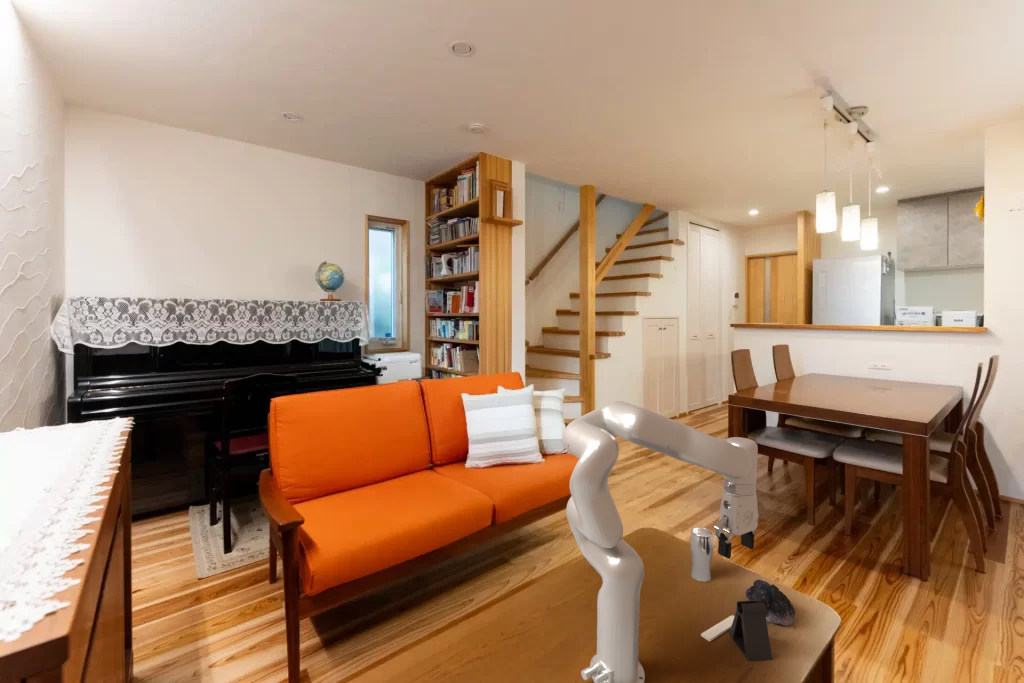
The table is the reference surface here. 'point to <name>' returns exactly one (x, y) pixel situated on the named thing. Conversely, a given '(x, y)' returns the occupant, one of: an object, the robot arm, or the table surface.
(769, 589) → the black rock
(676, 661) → the table surface
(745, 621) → the phone stand
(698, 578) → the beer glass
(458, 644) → the table surface
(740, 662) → the table surface
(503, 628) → the table surface
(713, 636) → the cream panel
